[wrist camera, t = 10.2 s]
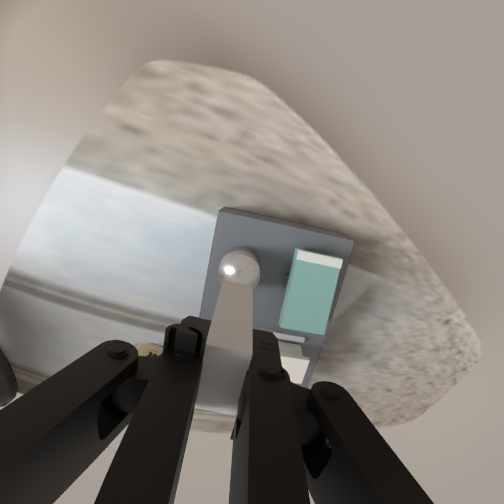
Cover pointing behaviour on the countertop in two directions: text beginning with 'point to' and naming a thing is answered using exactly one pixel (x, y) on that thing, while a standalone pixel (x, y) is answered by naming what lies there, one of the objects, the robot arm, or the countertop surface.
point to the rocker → (310, 291)
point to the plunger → (240, 267)
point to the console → (273, 270)
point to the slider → (293, 361)
